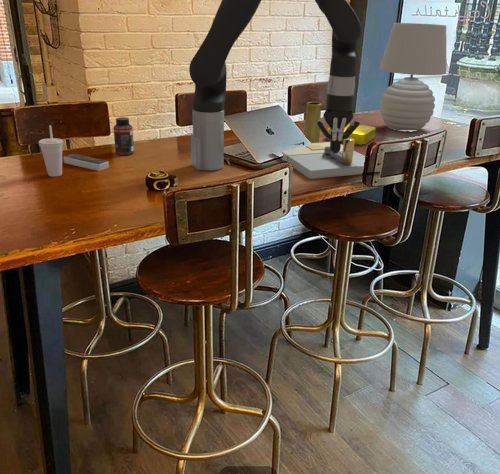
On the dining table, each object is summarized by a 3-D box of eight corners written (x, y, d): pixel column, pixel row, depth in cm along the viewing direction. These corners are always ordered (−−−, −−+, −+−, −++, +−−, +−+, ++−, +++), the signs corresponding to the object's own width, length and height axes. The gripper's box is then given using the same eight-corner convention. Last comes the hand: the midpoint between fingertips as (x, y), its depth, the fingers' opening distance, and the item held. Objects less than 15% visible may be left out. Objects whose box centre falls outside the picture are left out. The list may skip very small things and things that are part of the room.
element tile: (363, 146, 188) (364, 133, 186) (324, 140, 195) (325, 127, 193) (375, 138, 200) (377, 125, 198) (339, 132, 207) (340, 120, 205)
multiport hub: (99, 172, 152) (98, 164, 151) (63, 163, 158) (62, 156, 157) (109, 168, 155) (109, 161, 154) (74, 160, 162) (73, 153, 161)
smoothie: (53, 179, 143) (46, 129, 138) (38, 175, 146) (31, 125, 141) (71, 173, 148) (66, 124, 143) (56, 169, 151) (50, 121, 146)
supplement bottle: (138, 153, 169) (135, 118, 165) (122, 156, 165) (119, 121, 161) (127, 149, 173) (124, 115, 168) (111, 153, 169) (109, 118, 164)
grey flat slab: (310, 179, 151) (311, 169, 149) (272, 153, 175) (272, 144, 173) (381, 172, 159) (382, 163, 157) (335, 148, 183) (336, 140, 181)
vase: (318, 145, 185) (322, 105, 179) (301, 144, 186) (304, 104, 180) (320, 141, 191) (323, 102, 185) (303, 140, 192) (306, 101, 186)
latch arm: (321, 152, 165) (323, 130, 162) (333, 151, 166) (335, 129, 163) (343, 164, 154) (346, 141, 151) (355, 163, 155) (358, 140, 152)
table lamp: (386, 119, 230) (400, 22, 213) (443, 129, 217) (463, 25, 200) (361, 129, 211) (374, 23, 194) (423, 140, 198) (442, 27, 181)
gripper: (320, 94, 142) (315, 156, 149) (367, 94, 143) (360, 156, 150) (314, 89, 148) (310, 149, 156) (359, 90, 150) (353, 149, 157)
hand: (334, 152), depth 153 cm, fingers closed
